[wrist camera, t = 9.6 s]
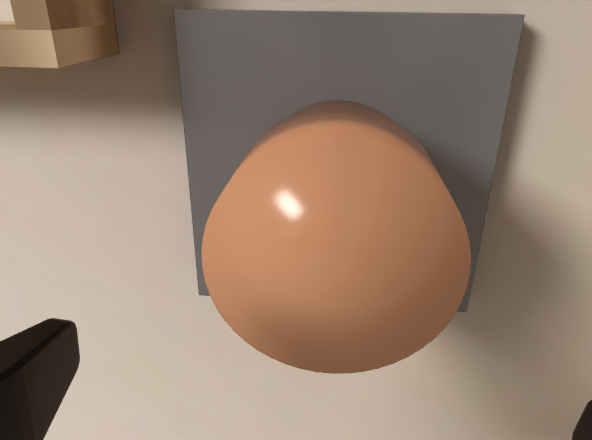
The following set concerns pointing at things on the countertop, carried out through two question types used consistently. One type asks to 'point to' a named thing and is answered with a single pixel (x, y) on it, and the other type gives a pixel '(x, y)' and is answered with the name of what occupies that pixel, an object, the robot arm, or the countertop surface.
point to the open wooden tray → (57, 33)
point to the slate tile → (346, 90)
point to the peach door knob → (336, 243)
